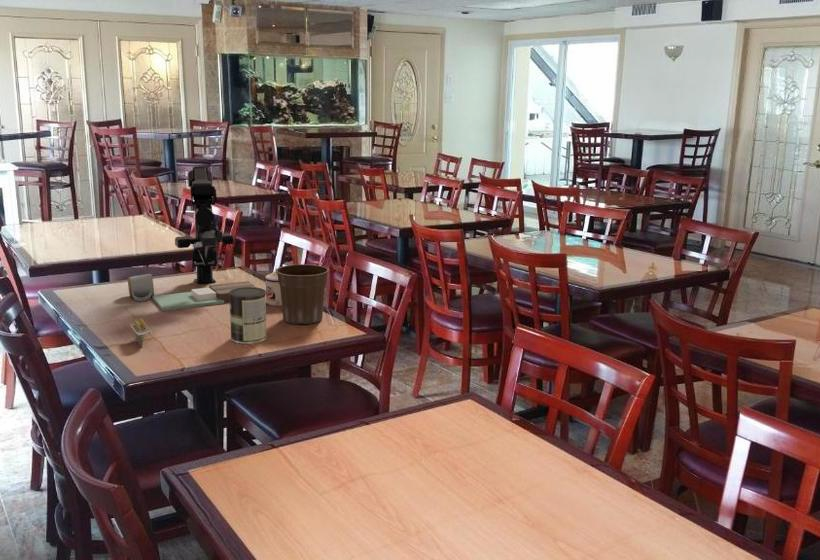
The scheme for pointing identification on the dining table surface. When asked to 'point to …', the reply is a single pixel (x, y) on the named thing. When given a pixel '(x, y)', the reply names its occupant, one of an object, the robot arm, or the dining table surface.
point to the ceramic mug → (141, 287)
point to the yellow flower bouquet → (140, 333)
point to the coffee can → (248, 315)
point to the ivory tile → (203, 294)
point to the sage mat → (182, 301)
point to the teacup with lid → (273, 290)
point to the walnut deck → (228, 289)
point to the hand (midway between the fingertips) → (205, 265)
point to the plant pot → (302, 292)
